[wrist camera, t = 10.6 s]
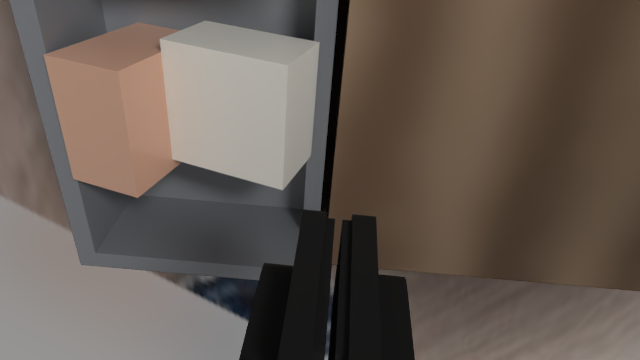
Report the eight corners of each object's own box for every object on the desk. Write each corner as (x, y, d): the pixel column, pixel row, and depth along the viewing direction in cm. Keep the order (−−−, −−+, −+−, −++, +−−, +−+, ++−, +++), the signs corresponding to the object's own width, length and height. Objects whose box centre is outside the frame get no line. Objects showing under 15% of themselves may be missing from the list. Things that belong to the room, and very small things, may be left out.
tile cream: (319, 42, 18) (287, 65, 16) (311, 155, 21) (282, 190, 18) (205, 20, 19) (159, 38, 17) (211, 130, 22) (172, 159, 20)
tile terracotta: (117, 71, 15) (43, 54, 16) (137, 197, 18) (73, 178, 19) (200, 34, 19) (138, 22, 20) (206, 142, 22) (151, 128, 23)
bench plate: (854, -79, 17) (941, -71, 15) (656, 254, 26) (689, 295, 23) (360, -120, 17) (361, -119, 15) (326, 226, 26) (324, 263, 23)
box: (347, -105, 18) (347, -99, 13) (319, 218, 26) (314, 285, 21) (63, -128, 18) (-27, -130, 13) (124, 201, 26) (80, 264, 22)
